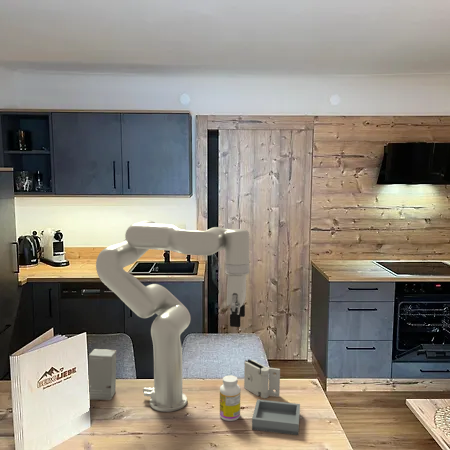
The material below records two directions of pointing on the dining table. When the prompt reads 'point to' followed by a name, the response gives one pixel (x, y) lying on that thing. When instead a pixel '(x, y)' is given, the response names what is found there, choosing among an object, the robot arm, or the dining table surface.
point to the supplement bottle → (230, 399)
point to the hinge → (261, 379)
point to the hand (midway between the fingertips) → (237, 321)
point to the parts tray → (276, 417)
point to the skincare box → (102, 374)
